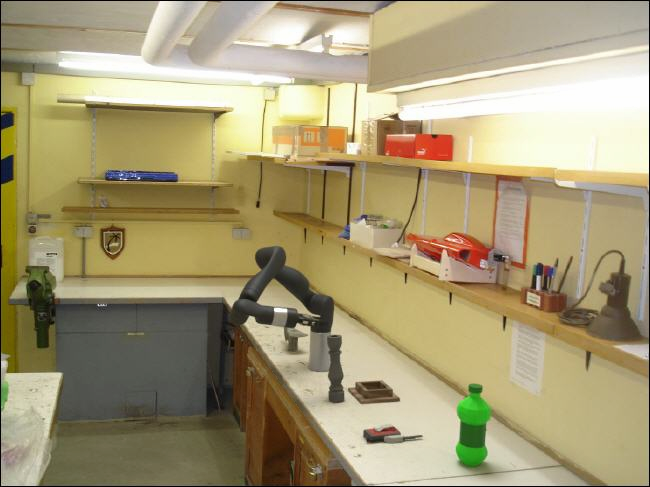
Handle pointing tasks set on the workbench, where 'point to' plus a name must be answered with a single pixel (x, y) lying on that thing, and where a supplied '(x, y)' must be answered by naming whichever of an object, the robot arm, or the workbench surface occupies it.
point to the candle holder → (335, 369)
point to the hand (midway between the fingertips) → (323, 322)
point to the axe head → (293, 337)
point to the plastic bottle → (473, 427)
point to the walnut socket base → (373, 392)
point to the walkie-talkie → (385, 435)
